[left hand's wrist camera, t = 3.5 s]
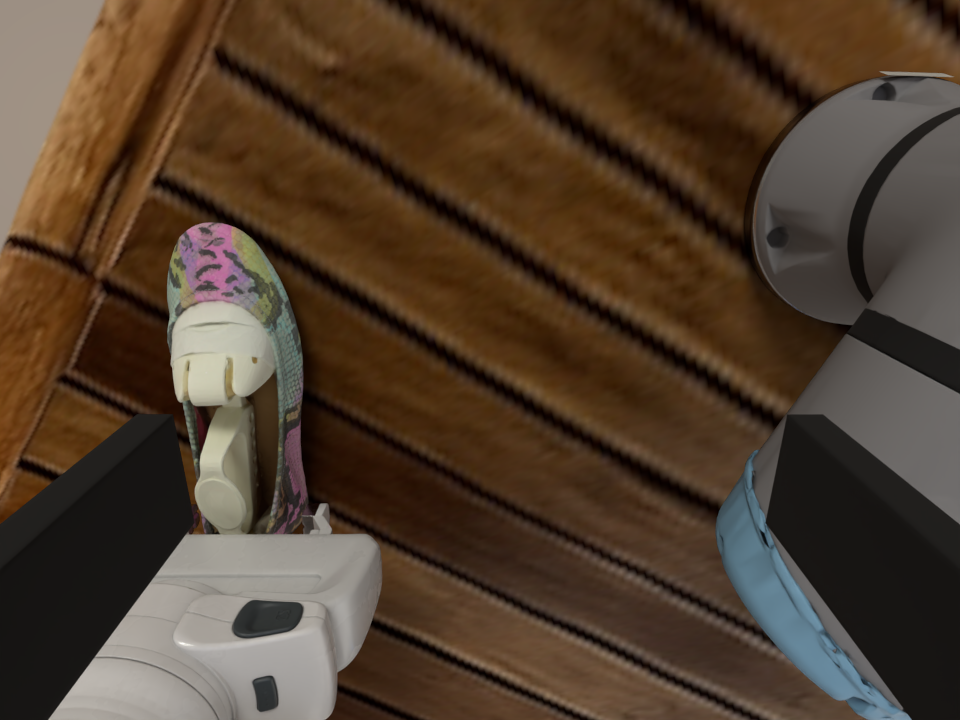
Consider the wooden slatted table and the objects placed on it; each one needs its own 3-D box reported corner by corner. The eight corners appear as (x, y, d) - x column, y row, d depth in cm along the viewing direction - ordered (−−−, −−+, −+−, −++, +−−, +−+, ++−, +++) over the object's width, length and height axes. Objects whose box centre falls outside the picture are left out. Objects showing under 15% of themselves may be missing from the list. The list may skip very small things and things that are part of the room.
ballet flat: (297, 219, 39) (249, 240, 31) (329, 526, 48) (298, 605, 40) (170, 219, 39) (90, 240, 31) (225, 526, 48) (172, 605, 40)
